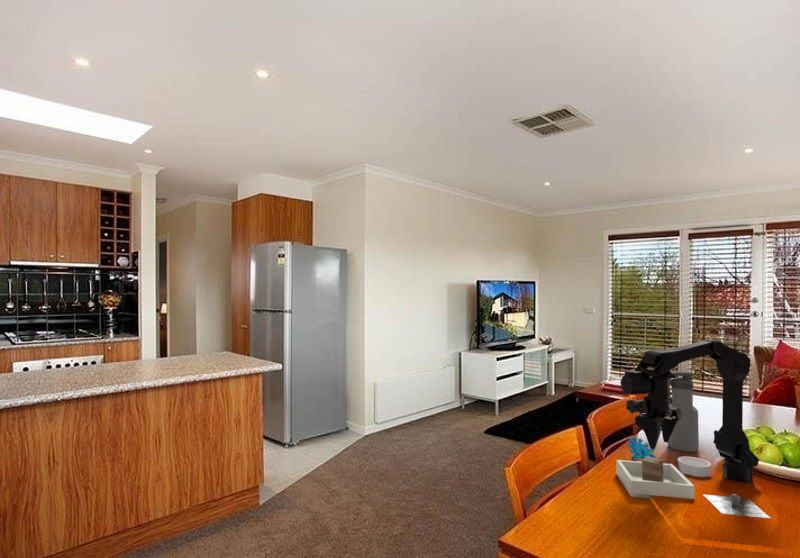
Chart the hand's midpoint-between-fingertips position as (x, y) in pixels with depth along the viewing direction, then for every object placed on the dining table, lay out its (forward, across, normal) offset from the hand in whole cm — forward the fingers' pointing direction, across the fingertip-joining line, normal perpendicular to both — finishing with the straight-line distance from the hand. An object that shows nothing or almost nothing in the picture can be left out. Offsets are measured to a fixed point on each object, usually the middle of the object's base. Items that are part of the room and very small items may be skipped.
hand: (659, 445), depth 134 cm
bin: (+12, +3, -1) cm, 12 cm away
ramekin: (+13, -18, +3) cm, 22 cm away
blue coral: (+12, -16, -12) cm, 23 cm away
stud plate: (+12, 0, +18) cm, 22 cm away
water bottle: (+13, -41, -9) cm, 44 cm away
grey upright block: (+11, +3, -1) cm, 11 cm away
